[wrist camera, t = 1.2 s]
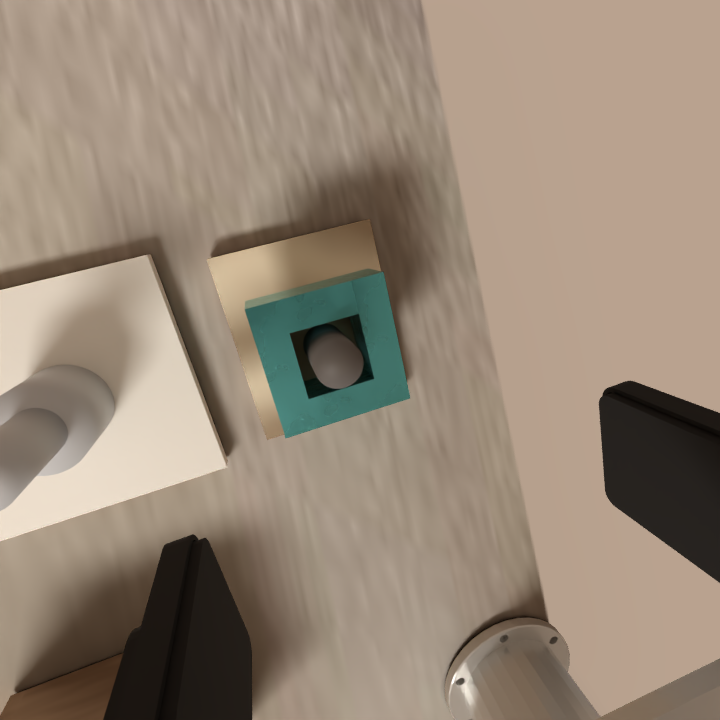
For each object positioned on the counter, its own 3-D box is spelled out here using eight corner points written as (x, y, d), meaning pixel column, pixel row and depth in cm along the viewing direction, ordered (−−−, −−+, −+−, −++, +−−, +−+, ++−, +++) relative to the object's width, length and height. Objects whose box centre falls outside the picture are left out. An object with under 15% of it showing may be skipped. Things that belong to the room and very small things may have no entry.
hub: (227, 460, 30) (217, 561, 20) (6, 531, 28) (-120, 682, 18) (150, 254, 25) (93, 262, 16) (-120, 319, 23) (-370, 372, 14)
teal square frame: (393, 381, 27) (410, 398, 24) (281, 416, 26) (285, 438, 23) (368, 268, 25) (383, 271, 22) (245, 301, 24) (244, 309, 21)
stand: (402, 390, 32) (454, 440, 24) (266, 433, 30) (272, 503, 22) (365, 219, 28) (412, 211, 20) (208, 258, 26) (189, 266, 18)
